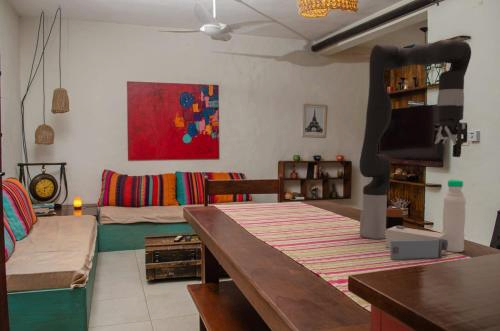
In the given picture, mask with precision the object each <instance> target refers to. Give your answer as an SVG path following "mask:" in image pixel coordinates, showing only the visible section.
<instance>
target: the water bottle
mask: <svg viewBox="0 0 500 331" xmlns="http://www.w3.org/2000/svg"><path fill="white" fill-rule="evenodd" d="M447 186H448V191H447V192H446V195H445V196H444V197H443V209H442V232H441V233H444V234H446V240H447V241H448V247H447V250H446V252H449V253H462V252H463V251H464V250H465V242H464V241H465V225H466V203H467V200H466V198H465V196H464V192H463V191H462V189H463V188H464V187H463V186H464V181H463V180H461V179H449V180H447Z"/></svg>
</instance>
